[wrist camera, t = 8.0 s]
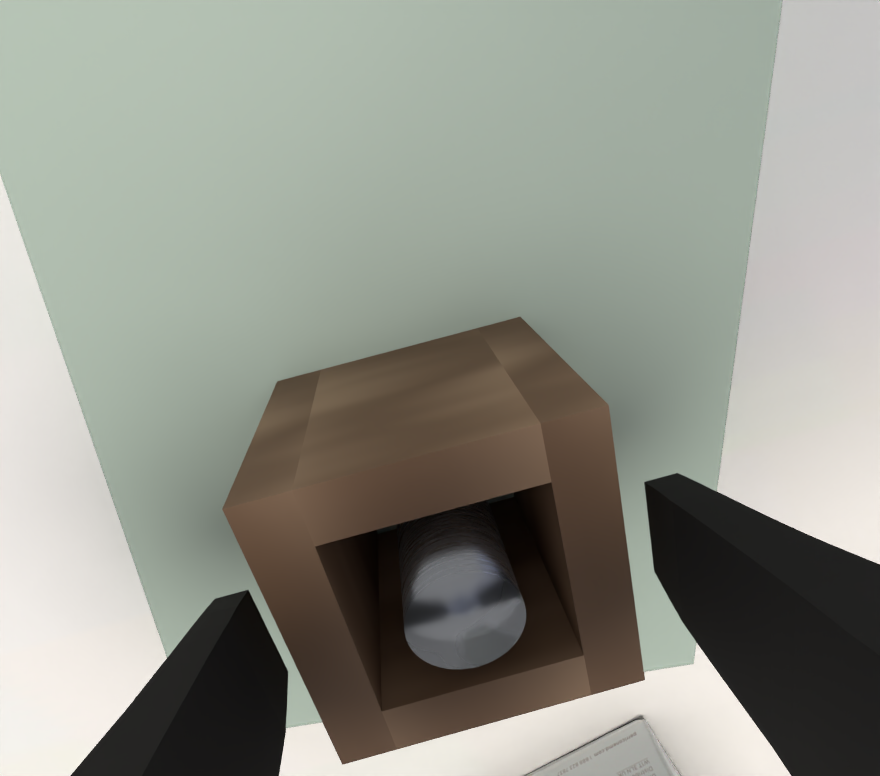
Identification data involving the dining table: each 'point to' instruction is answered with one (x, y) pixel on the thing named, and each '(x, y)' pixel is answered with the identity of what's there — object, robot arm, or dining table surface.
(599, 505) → the walnut collar
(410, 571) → the grey steel post
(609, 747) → the supplement box
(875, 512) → the dining table surface
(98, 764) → the robot arm
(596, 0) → the sage board
